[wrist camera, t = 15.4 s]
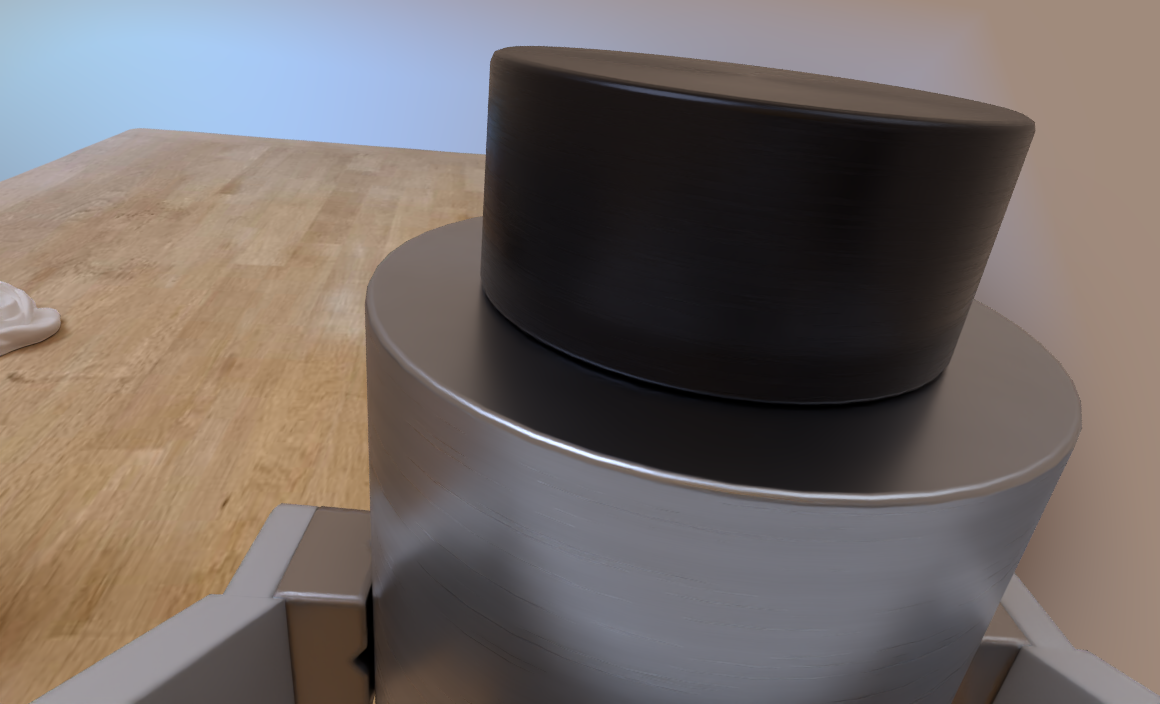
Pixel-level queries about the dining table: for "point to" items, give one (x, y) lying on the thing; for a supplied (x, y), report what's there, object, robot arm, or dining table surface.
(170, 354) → the dining table surface
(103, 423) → the dining table surface
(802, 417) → the flask
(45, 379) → the dining table surface
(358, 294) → the dining table surface
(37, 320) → the rose
